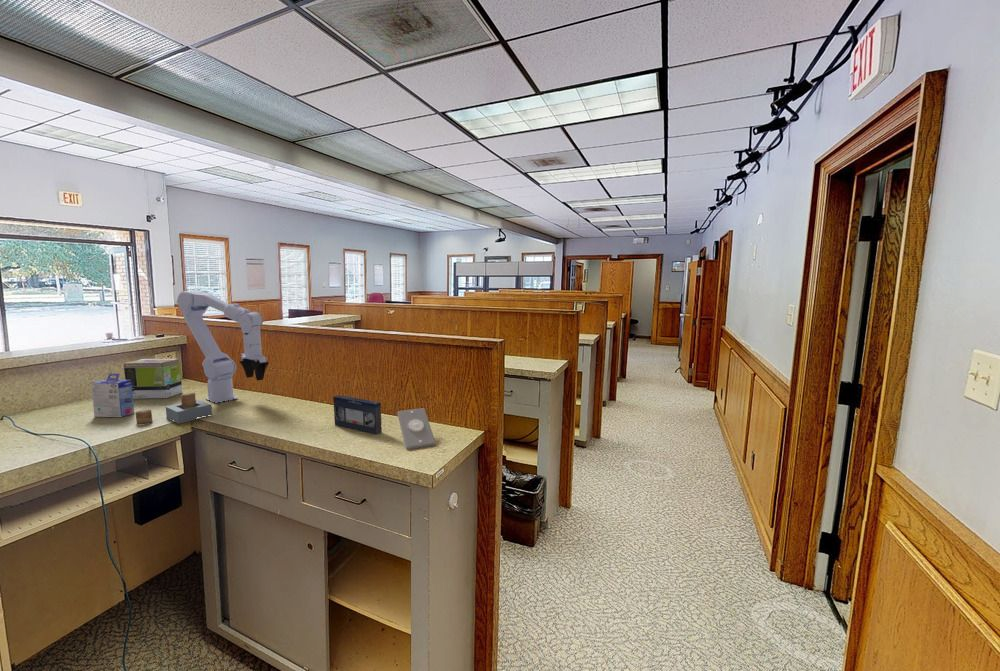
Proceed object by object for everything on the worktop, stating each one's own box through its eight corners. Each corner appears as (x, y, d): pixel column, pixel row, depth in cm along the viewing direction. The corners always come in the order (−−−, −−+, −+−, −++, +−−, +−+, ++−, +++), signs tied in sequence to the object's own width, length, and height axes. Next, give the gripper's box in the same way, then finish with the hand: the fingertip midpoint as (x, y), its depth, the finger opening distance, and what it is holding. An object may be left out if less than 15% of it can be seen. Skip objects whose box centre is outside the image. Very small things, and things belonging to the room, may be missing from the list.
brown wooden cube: (134, 423, 138) (133, 411, 138) (149, 420, 142) (148, 408, 141) (139, 425, 136) (137, 414, 136) (154, 422, 139) (153, 410, 139)
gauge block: (166, 417, 144) (165, 406, 143) (199, 410, 152) (198, 399, 151) (178, 423, 138) (177, 411, 138) (212, 415, 147) (211, 404, 146)
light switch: (407, 445, 118) (397, 408, 129) (405, 458, 121) (396, 422, 132) (436, 440, 122) (424, 405, 132) (433, 454, 125) (422, 418, 135)
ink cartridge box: (136, 412, 149) (131, 373, 147) (121, 417, 143) (117, 376, 141) (108, 412, 149) (104, 372, 147) (93, 417, 144) (88, 376, 142)
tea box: (183, 392, 176) (180, 357, 174) (165, 399, 166) (162, 362, 164) (146, 392, 175) (142, 357, 173) (126, 399, 165) (122, 362, 163)
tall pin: (180, 417, 145) (178, 394, 144) (194, 414, 148) (192, 392, 147) (185, 419, 142) (183, 396, 141) (199, 416, 146) (197, 394, 145)
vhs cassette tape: (334, 425, 138) (332, 396, 137) (341, 423, 141) (340, 394, 139) (375, 435, 130) (374, 404, 128) (382, 432, 132) (381, 402, 131)
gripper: (232, 343, 160) (234, 377, 162) (251, 347, 152) (253, 383, 154) (251, 341, 166) (253, 374, 168) (270, 344, 158) (272, 379, 160)
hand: (255, 378), depth 161 cm, fingers open, 7 cm apart
